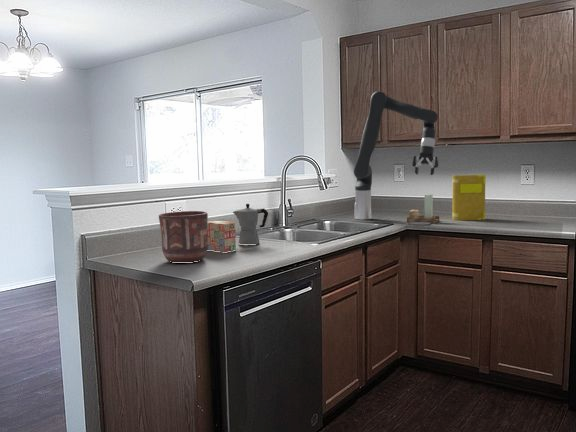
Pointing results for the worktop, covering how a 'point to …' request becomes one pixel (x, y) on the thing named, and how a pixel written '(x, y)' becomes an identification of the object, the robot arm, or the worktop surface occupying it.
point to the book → (468, 197)
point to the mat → (420, 223)
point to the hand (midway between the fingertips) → (424, 174)
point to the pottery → (184, 235)
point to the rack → (423, 219)
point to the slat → (428, 205)
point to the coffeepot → (249, 224)
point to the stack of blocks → (221, 236)
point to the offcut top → (413, 212)
